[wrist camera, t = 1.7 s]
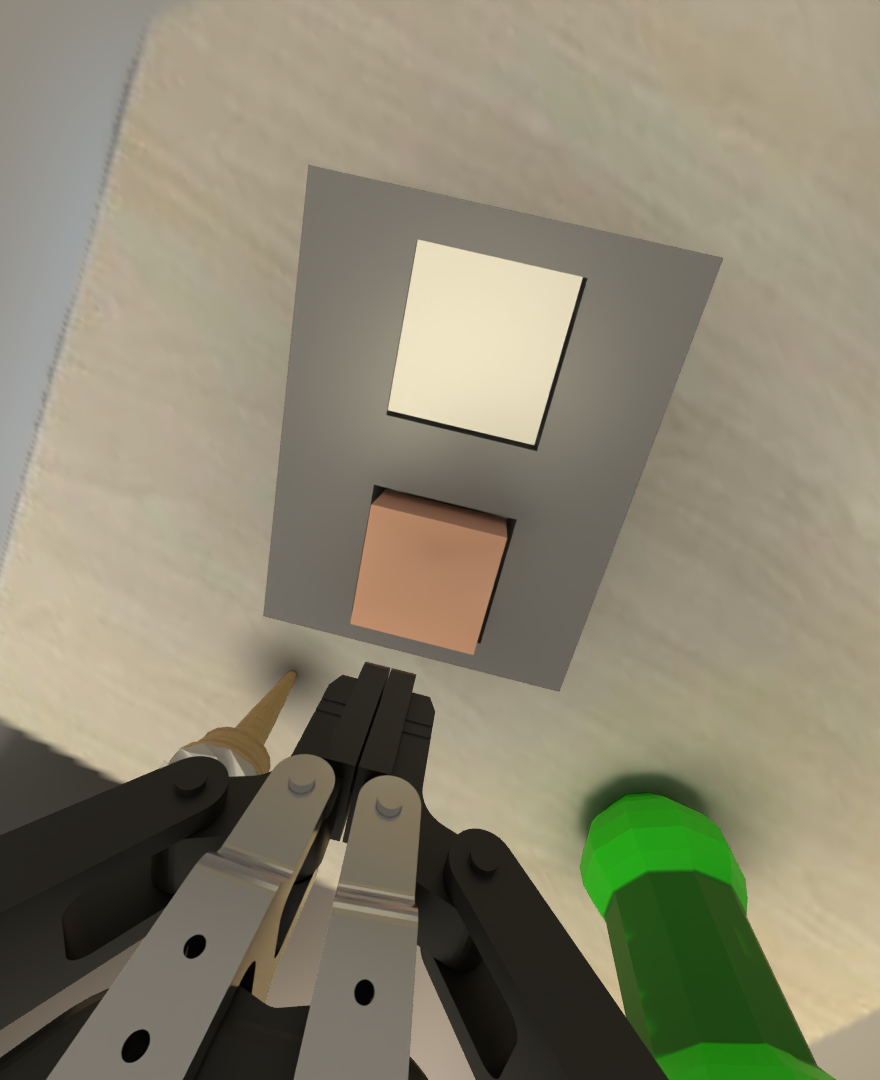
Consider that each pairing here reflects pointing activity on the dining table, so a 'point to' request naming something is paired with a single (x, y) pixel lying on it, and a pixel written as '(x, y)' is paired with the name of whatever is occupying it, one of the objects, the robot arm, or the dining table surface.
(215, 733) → the ice cream cone
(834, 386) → the dining table surface
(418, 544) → the terracotta key
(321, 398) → the block
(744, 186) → the dining table surface
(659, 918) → the plastic bottle
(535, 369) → the white key
